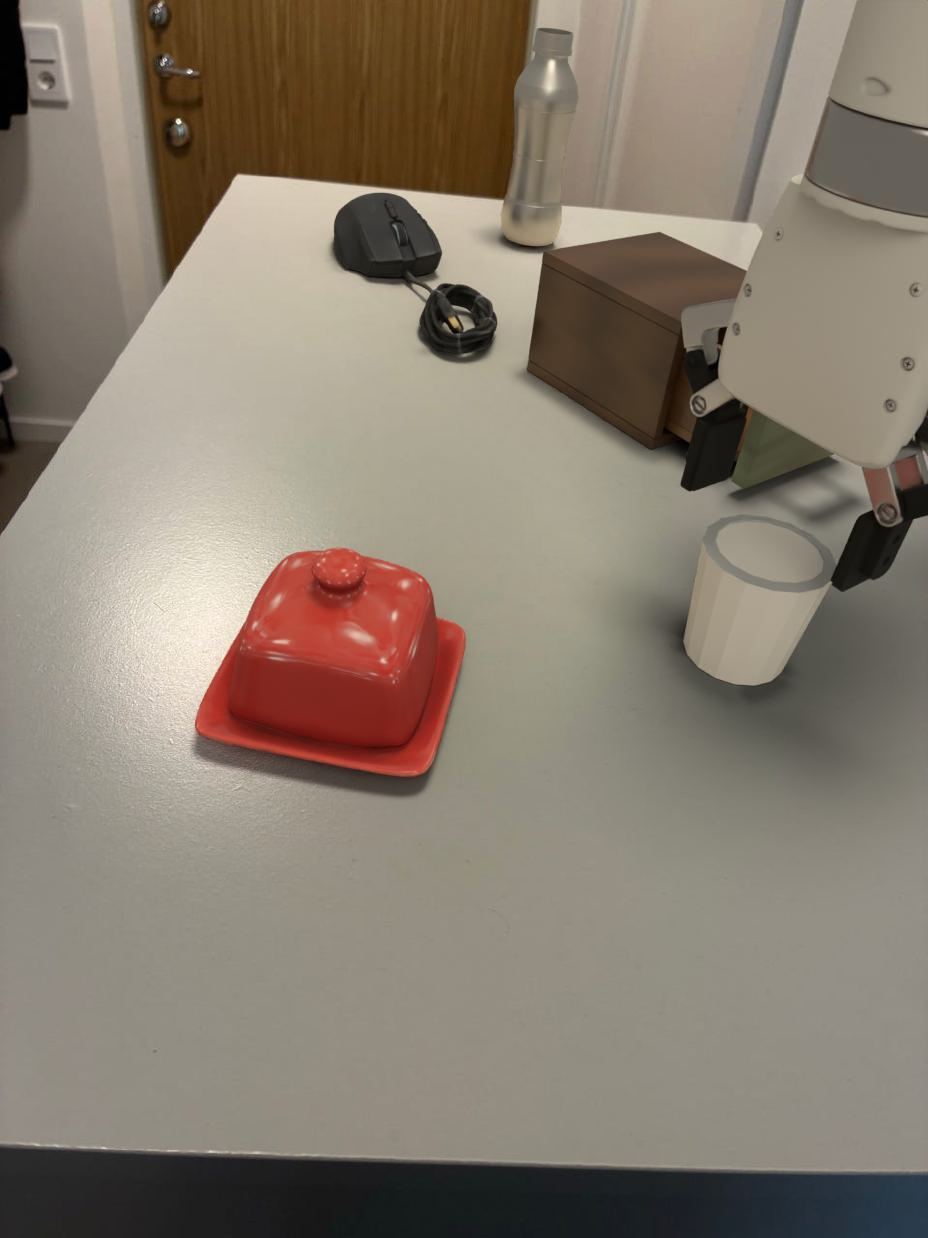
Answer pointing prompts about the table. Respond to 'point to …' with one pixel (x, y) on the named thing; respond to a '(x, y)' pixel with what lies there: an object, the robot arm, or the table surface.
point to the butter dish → (338, 667)
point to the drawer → (747, 436)
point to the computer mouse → (410, 266)
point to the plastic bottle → (540, 141)
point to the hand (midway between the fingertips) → (774, 529)
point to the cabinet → (622, 324)
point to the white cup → (754, 597)
